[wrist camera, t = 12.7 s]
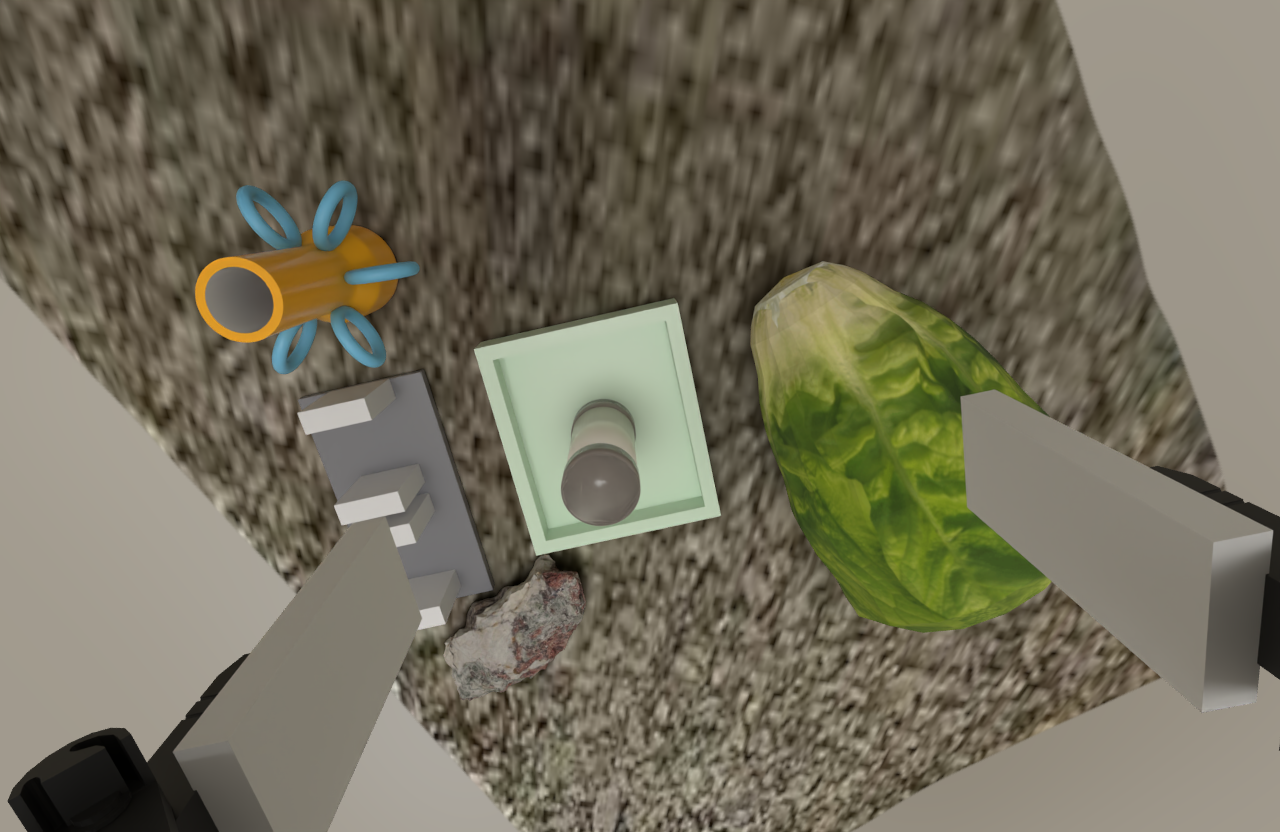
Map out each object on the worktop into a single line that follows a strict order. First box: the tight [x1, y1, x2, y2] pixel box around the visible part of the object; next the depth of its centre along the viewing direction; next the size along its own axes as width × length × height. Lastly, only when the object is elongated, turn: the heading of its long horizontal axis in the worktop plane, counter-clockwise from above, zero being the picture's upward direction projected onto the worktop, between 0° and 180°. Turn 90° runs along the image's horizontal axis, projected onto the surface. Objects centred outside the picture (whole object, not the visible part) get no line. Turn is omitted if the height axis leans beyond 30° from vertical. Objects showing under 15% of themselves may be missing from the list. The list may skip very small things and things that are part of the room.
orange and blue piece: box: [195, 181, 420, 374], centre depth 39 cm, size 12×10×15 cm
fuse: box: [561, 399, 641, 526], centre depth 44 cm, size 5×5×11 cm
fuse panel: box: [297, 369, 495, 630], centre depth 49 cm, size 18×9×6 cm, turn 12°
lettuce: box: [751, 261, 1052, 633], centre depth 43 cm, size 17×23×16 cm
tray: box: [474, 298, 721, 556], centre depth 49 cm, size 16×14×2 cm
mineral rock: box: [443, 554, 586, 701], centre depth 53 cm, size 15×8×4 cm, turn 125°
